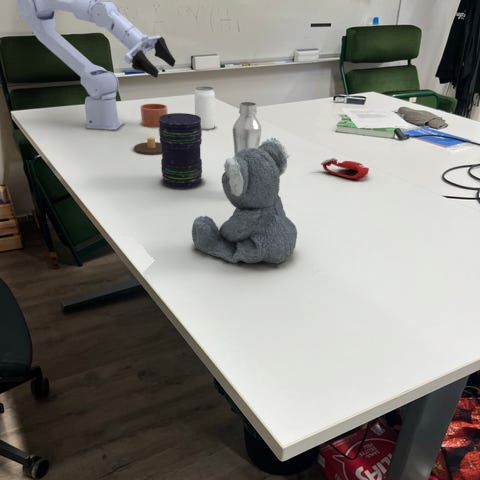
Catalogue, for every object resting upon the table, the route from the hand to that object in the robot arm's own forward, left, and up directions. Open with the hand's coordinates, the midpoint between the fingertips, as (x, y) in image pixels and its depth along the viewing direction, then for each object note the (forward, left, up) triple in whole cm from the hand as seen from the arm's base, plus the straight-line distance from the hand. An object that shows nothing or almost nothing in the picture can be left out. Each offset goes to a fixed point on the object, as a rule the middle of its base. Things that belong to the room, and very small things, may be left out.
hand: (165, 69), depth 137 cm
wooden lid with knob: (-2, -13, -19) cm, 23 cm away
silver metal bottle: (+28, -42, -19) cm, 54 cm away
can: (+9, +14, -19) cm, 25 cm away
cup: (-8, +14, -19) cm, 25 cm away
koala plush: (+32, -69, -19) cm, 78 cm away
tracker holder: (+53, -22, -19) cm, 60 cm away
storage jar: (+12, -37, -19) cm, 43 cm away
